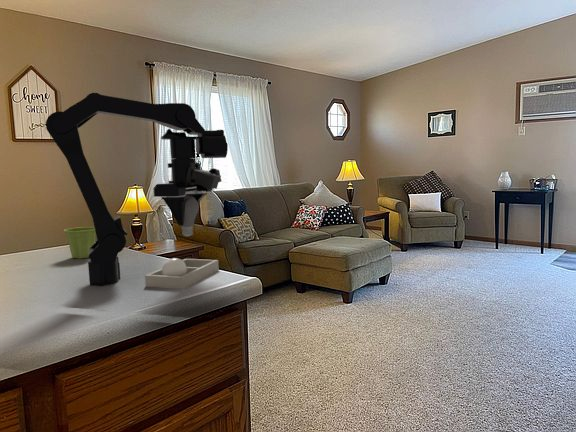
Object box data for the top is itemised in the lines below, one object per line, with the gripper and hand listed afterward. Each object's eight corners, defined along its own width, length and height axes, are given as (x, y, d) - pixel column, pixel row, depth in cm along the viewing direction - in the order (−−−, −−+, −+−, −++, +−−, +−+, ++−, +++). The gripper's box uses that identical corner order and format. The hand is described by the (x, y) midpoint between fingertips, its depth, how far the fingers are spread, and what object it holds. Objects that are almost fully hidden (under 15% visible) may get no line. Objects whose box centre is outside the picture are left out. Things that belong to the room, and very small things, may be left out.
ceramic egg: (179, 285, 95) (178, 261, 94) (157, 284, 97) (156, 260, 96) (191, 279, 100) (190, 256, 99) (171, 278, 102) (169, 255, 101)
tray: (183, 293, 93) (182, 277, 92) (145, 290, 95) (144, 275, 95) (218, 273, 109) (218, 260, 109) (186, 271, 112) (185, 258, 112)
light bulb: (203, 233, 109) (200, 193, 108) (196, 238, 103) (194, 195, 102) (179, 234, 110) (177, 194, 108) (171, 238, 104) (169, 196, 102)
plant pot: (66, 255, 136) (64, 228, 135) (99, 252, 140) (97, 225, 139) (65, 261, 128) (63, 232, 127) (100, 257, 132) (98, 229, 131)
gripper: (196, 157, 93) (200, 230, 95) (230, 158, 111) (232, 219, 113) (150, 159, 96) (154, 229, 98) (190, 159, 114) (193, 218, 116)
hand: (187, 223), depth 106 cm, fingers closed on light bulb, 5 cm apart
